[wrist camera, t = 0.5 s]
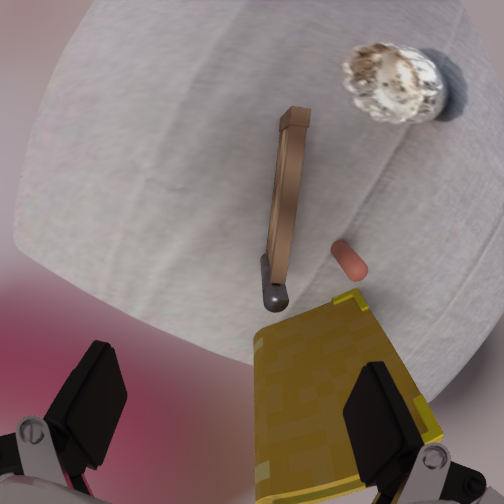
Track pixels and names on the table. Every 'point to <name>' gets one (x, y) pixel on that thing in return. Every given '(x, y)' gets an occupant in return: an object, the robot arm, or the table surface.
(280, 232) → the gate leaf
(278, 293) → the gate post
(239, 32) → the table surface
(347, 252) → the post
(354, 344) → the book
